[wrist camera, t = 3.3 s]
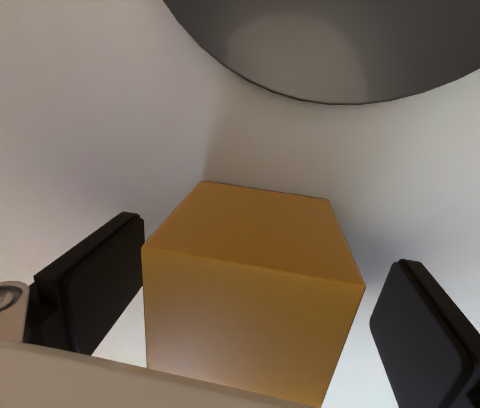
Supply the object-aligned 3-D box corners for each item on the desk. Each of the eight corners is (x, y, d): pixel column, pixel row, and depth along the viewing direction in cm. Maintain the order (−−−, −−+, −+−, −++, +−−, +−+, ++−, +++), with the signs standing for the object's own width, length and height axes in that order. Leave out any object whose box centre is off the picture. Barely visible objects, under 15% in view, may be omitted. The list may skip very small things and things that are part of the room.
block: (195, 280, 12) (146, 388, 8) (200, 179, 10) (139, 246, 6) (302, 299, 12) (315, 426, 7) (328, 199, 10) (368, 286, 5)
